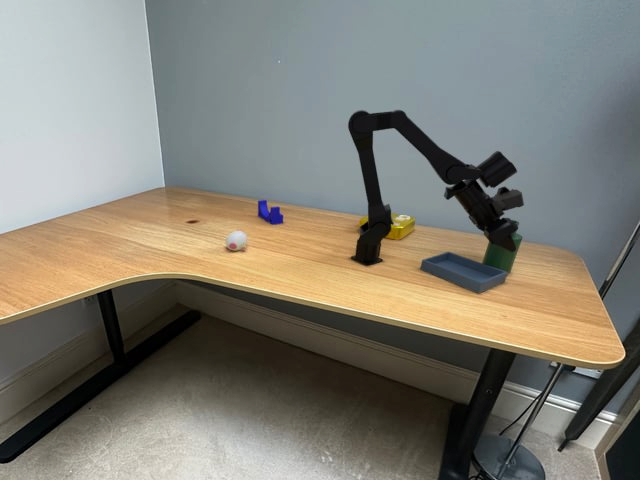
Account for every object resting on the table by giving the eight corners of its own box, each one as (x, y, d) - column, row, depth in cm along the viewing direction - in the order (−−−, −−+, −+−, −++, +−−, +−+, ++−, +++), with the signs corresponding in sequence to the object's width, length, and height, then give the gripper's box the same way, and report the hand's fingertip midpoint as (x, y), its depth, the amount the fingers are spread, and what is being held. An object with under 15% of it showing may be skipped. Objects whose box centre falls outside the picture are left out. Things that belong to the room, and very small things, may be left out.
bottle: (501, 276, 95) (518, 227, 89) (476, 266, 100) (490, 220, 94) (515, 270, 98) (532, 223, 92) (490, 261, 103) (504, 216, 97)
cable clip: (283, 223, 137) (283, 206, 134) (272, 224, 135) (272, 208, 132) (268, 214, 146) (268, 199, 144) (258, 216, 145) (258, 200, 142)
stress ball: (238, 254, 118) (228, 235, 118) (256, 245, 113) (246, 225, 113) (224, 261, 113) (213, 242, 112) (242, 251, 107) (231, 231, 107)
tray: (478, 293, 88) (481, 283, 87) (419, 269, 100) (422, 259, 99) (504, 282, 93) (508, 272, 92) (446, 260, 105) (448, 251, 104)
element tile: (374, 221, 138) (376, 208, 136) (415, 229, 130) (417, 216, 128) (356, 231, 128) (357, 218, 126) (399, 241, 119) (401, 226, 117)
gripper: (522, 186, 81) (560, 239, 84) (494, 171, 97) (527, 215, 100) (472, 219, 86) (510, 267, 89) (454, 199, 102) (486, 240, 105)
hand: (509, 246), depth 95 cm, fingers closed on bottle, 7 cm apart
